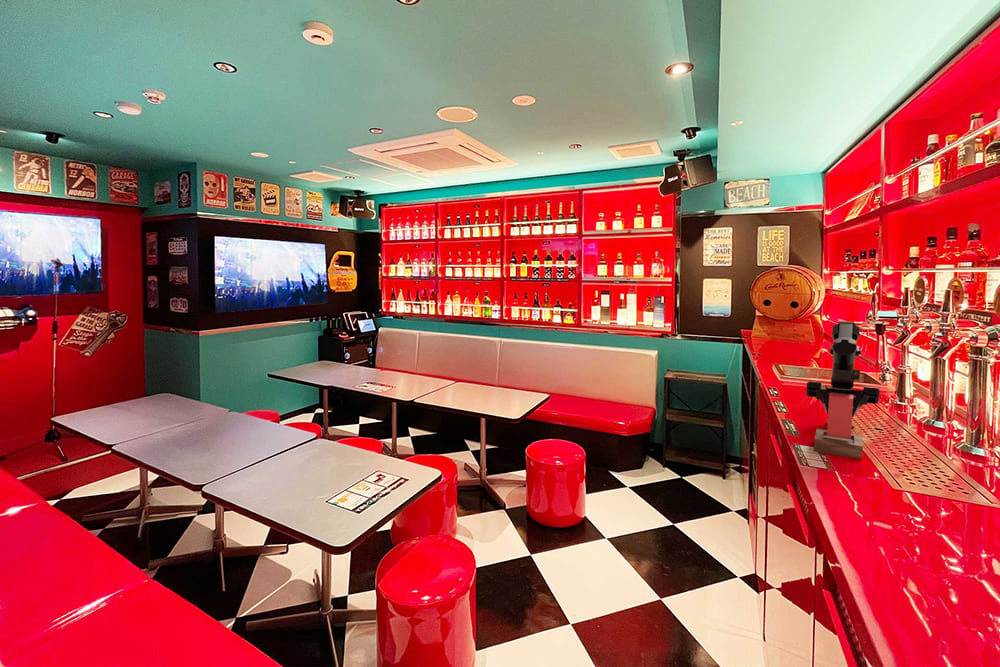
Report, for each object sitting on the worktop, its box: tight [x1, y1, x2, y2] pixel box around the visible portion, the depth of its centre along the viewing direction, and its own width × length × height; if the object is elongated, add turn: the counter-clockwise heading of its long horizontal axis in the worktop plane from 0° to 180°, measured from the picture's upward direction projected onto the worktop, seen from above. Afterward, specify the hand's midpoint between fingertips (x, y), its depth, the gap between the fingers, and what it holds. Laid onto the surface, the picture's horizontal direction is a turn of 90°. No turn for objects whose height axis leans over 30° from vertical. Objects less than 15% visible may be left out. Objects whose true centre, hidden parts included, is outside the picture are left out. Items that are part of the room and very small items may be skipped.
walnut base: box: [813, 428, 864, 460], centre depth 148 cm, size 12×12×4 cm
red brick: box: [826, 393, 853, 439], centre depth 147 cm, size 6×6×12 cm
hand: (840, 414), depth 146 cm, fingers closed on red brick, 6 cm apart
